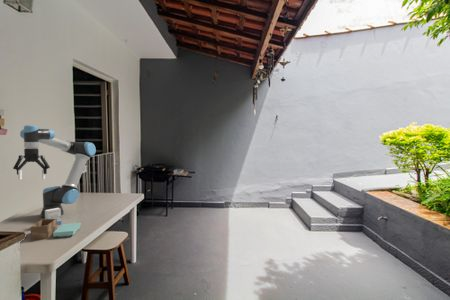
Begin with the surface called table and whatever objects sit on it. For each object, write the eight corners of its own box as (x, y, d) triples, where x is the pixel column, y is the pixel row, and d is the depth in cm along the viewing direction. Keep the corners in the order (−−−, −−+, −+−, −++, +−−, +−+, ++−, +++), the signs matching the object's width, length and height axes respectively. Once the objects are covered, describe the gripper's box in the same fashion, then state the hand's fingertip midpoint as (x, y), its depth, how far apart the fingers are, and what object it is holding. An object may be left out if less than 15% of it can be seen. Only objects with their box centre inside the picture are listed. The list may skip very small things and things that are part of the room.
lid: (62, 229, 163) (62, 224, 163) (80, 228, 166) (80, 222, 166) (53, 238, 149) (53, 232, 148) (73, 237, 152) (73, 231, 151)
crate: (41, 231, 160) (41, 219, 159) (57, 230, 162) (56, 218, 162) (30, 239, 146) (30, 227, 146) (47, 238, 148) (47, 226, 148)
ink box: (59, 222, 176) (58, 207, 175) (61, 224, 173) (61, 208, 172) (44, 226, 169) (44, 209, 168) (47, 227, 166) (46, 211, 165)
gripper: (5, 148, 154) (6, 180, 155) (50, 148, 160) (50, 179, 161) (12, 147, 161) (13, 178, 162) (54, 148, 168) (55, 177, 169)
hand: (32, 179), depth 162 cm, fingers open, 13 cm apart
